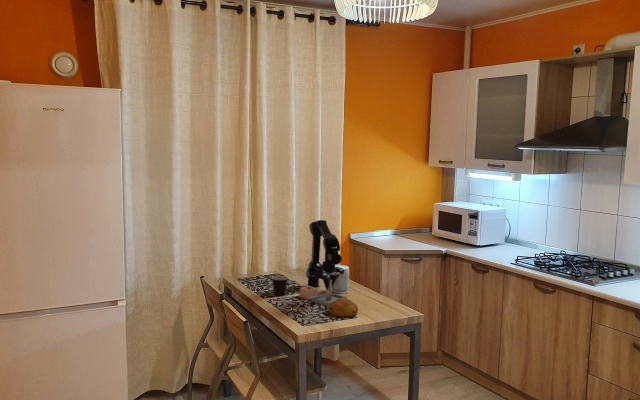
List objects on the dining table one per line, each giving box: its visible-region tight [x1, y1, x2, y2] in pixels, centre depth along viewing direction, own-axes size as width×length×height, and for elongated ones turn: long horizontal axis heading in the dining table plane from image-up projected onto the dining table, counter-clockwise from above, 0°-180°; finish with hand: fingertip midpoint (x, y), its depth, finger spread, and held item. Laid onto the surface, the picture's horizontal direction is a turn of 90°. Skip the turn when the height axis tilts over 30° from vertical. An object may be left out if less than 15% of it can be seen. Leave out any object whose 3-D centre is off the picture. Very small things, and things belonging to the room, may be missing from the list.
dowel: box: [325, 280, 333, 301], centre depth 275 cm, size 3×3×11 cm
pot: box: [299, 285, 318, 300], centre depth 280 cm, size 7×7×6 cm
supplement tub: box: [332, 264, 350, 294], centre depth 293 cm, size 10×10×15 cm
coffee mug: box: [271, 275, 289, 297], centre depth 284 cm, size 12×9×10 cm
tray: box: [310, 292, 348, 307], centre depth 275 cm, size 16×12×2 cm
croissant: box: [327, 298, 359, 318], centre depth 258 cm, size 14×16×8 cm
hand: (329, 288), depth 275 cm, fingers open, 3 cm apart
